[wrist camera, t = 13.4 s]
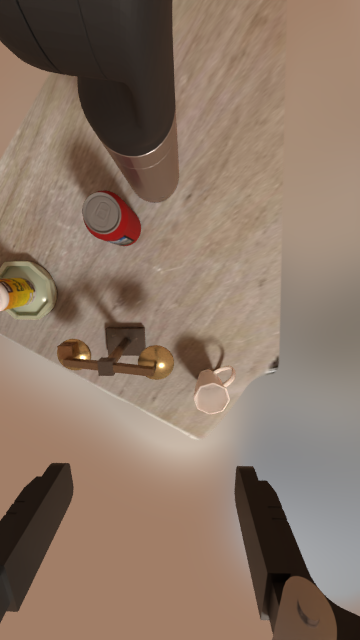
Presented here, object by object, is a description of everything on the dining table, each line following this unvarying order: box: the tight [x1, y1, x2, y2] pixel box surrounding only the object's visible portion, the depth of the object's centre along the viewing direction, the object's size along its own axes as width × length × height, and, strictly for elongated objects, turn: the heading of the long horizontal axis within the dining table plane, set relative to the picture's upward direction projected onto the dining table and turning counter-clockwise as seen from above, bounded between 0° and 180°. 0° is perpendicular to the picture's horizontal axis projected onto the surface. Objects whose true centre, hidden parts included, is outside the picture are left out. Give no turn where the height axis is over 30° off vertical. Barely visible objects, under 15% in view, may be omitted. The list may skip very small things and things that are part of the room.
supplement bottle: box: [0, 278, 37, 311], centre depth 39 cm, size 6×6×10 cm
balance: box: [57, 327, 174, 380], centre depth 40 cm, size 22×6×15 cm, turn 90°
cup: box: [194, 366, 235, 414], centre depth 45 cm, size 7×10×8 cm
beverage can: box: [82, 191, 141, 246], centre depth 35 cm, size 7×7×12 cm
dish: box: [0, 261, 57, 320], centre depth 44 cm, size 12×12×2 cm
